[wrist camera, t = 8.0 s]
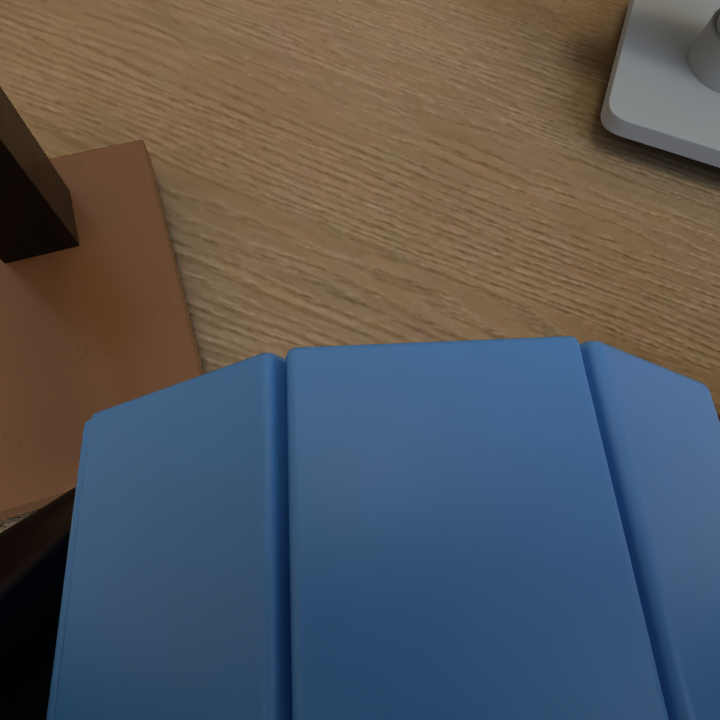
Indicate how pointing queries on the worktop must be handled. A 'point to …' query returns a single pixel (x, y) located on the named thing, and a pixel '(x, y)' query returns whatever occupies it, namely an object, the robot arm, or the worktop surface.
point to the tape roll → (399, 541)
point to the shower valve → (668, 78)
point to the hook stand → (79, 304)
